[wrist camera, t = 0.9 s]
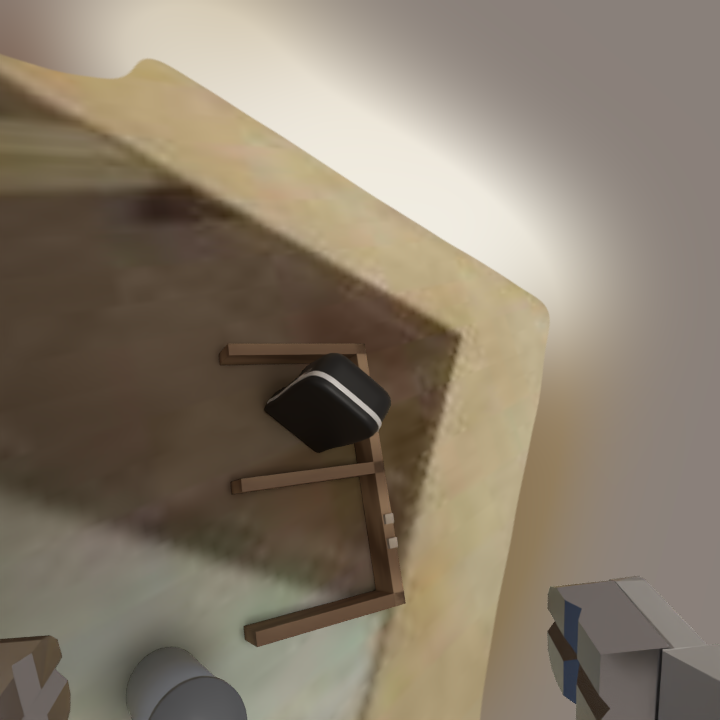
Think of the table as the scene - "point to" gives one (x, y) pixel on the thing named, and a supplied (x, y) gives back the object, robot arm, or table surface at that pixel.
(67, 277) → the table surface
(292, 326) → the table surface
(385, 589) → the dock
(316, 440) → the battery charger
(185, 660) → the canister
